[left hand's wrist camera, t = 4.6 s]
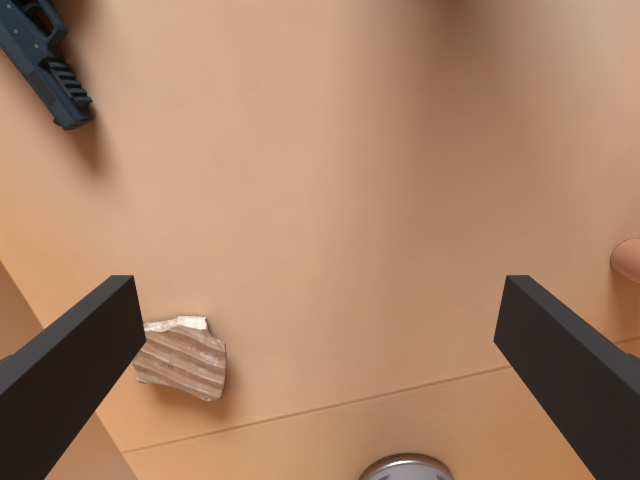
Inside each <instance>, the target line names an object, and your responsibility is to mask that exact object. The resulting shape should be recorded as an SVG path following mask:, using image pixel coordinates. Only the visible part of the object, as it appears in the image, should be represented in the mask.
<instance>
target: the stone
mask: <svg viewBox="0 0 640 480" xmlns="http://www.w3.org/2000/svg"><path fill="white" fill-rule="evenodd" d="M143 326H144V331H145V335H146V340H147V341H146V343H145V344H144V345H143V347H142V348H141V349H140V351H139V352H138V353H137V355H136V356H135V358H134V359H133V360H132V364H133V365H134V367H135V369H136V370H137V380H138V382H139V383H143V384H150V383H155V384H161V385H165V386H171V387H174V388H177V389H180V390H183V391H185V392H188V393H191V394H192V395H194V396H197V397H198V398H199V399H202V400H204V401H207V402H211V401H217V402H219V399H221V398H222V397H223V389H224V384H225V378H226V375H225V371H226V366H227V358H226V347H225V343H224V342H223V341H222V340H218V339H215V338H213V337H212V336H211V333H210V332H209V329H208V325H207V318H206V317H200V316H177V317H175V318H174V319H173V320H167V321H162V322H153V323H145V324H143Z"/></svg>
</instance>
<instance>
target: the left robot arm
mask: <svg viewBox="0 0 640 480" xmlns="http://www.w3.org/2000/svg"><path fill="white" fill-rule="evenodd" d="M146 341H147V340H146V335H145V331H144V326H143V321H142V316H141V311H140V306H139V301H138V296H137V291H136V286H135V281H134V276H133V275H112V276H110V277H109V278H108V279H107V280H105V281H104V282H103V283H102V284H100V285H99V286H98V287H97V288H95V289H94V290H93V291H92V292H90V293H89V294H88V295H87V296H85V297H84V298H83V299H82V300H80V301H79V302H78V303H77V304H75V305H74V306H73V307H72V308H71V309H69V310H68V311H67V312H66V313H64V314H63V315H62V316H61V317H59V318H58V319H57V320H56V321H54V322H53V323H52V324H51V325H49V326H48V327H47V328H46V329H44V330H43V331H42V332H41V333H40V334H38V335H37V336H36V337H35V338H33V339H32V340H31V341H30V342H28V343H27V344H26V345H25V346H23V347H22V348H21V349H20V350H18V351H17V352H16V353H15V354H13V355H9V356H7V357H5V358H4V359H2V360H0V480H44V479H45V477H46V476H47V475H48V473H49V472H50V471H51V469H52V468H53V467H54V465H55V464H56V463H57V461H58V460H59V459H60V457H61V456H62V454H63V453H64V452H65V450H66V449H67V448H68V446H69V445H70V444H71V442H72V441H73V440H74V438H75V437H76V436H77V434H78V433H79V432H80V430H81V429H82V428H83V426H84V425H85V424H86V422H87V421H88V419H89V418H90V417H91V415H92V414H93V413H94V411H95V410H96V409H97V407H98V406H99V405H100V403H101V402H102V401H103V399H104V398H105V397H106V395H107V394H108V393H109V391H110V390H111V389H112V387H113V386H114V384H115V383H116V382H117V380H118V379H119V378H120V376H121V375H122V374H123V372H124V371H125V370H126V368H127V367H128V366H129V364H130V363H131V362H132V360H133V359H134V358H135V356H136V355H137V353H138V352H139V351H140V349H141V348H142V347H143V345H144V344H145V343H146ZM493 341H494V343H495V344H496V345H497V347H498V348H499V349H500V351H501V352H502V353H503V355H504V356H505V358H506V359H507V360H508V362H509V363H510V364H511V366H512V367H513V368H514V370H515V371H516V372H517V374H518V375H519V376H520V378H521V379H522V380H523V382H524V383H525V384H526V386H527V387H528V389H529V390H530V391H531V393H532V394H533V395H534V397H535V398H536V399H537V401H538V402H539V403H540V405H541V406H542V407H543V409H544V410H545V411H546V413H547V414H548V415H549V417H550V418H551V420H552V421H553V422H554V424H555V425H556V426H557V428H558V429H559V430H560V432H561V433H562V434H563V436H564V437H565V438H566V440H567V441H568V442H569V444H570V445H571V446H572V448H573V449H574V450H575V452H576V453H577V455H578V456H579V457H580V459H581V460H582V461H583V463H584V464H585V465H586V467H587V468H588V469H589V471H590V472H591V473H592V475H593V476H594V477H595V479H596V480H640V359H639V358H637V357H636V356H634V355H632V354H625V353H624V352H623V351H622V350H620V349H619V348H618V347H617V346H615V345H614V344H613V343H612V342H610V341H609V340H608V339H607V338H605V337H604V336H603V335H602V334H601V333H599V332H598V331H597V330H596V329H594V328H593V327H592V326H591V325H589V324H588V323H587V322H586V321H584V320H583V319H582V318H581V317H579V316H578V315H577V314H576V313H574V312H573V311H572V310H571V309H569V308H568V307H567V306H566V305H565V304H563V303H562V302H561V301H560V300H558V299H557V298H556V297H555V296H553V295H552V294H551V293H550V292H548V291H547V290H546V289H545V288H543V287H542V286H541V285H540V284H538V283H537V282H536V281H535V280H533V279H532V278H531V277H530V276H528V275H507V276H506V281H505V286H504V291H503V296H502V301H501V306H500V311H499V316H498V321H497V326H496V331H495V335H494V340H493ZM359 480H454V478H453V476H452V474H451V472H450V470H449V469H448V468H447V467H446V466H445V465H444V464H443V463H441V462H440V461H438V460H436V459H434V458H432V457H429V456H426V455H421V454H411V453H408V454H398V455H393V456H389V457H386V458H383V459H381V460H379V461H377V462H375V463H374V464H372V465H371V466H370V467H368V468H367V469H366V470H365V471H364V472H363V474H362V475H361V477H360V478H359Z"/></svg>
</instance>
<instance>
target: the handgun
mask: <svg viewBox="0 0 640 480" xmlns="http://www.w3.org/2000/svg"><path fill="white" fill-rule="evenodd" d="M37 1H38V3H39V4H38V3H29V0H0V46H1V48H2V49H3V50H4V52H5V53H6V54H7V56H8V57H9V58H10V60H11V61H12V62H13V64H14V65H15V66H16V68H17V69H18V70H19V71H20V72H21V73H22V75H23V76H24V77H25V79H26V80H27V81H28V83H29V84H30V85H31V87H32V88H33V89H34V91H35V92H36V93H37V95H38V96H39V97H40V99H41V100H42V101H43V103H44V104H45V105H46V107H47V108H48V109H49V111H50V112H51V113H52V115H53V116H54V117H55V118H54V121H53V122H54V123H55V124H57V125H59V126H61V127H62V128H63V129H64V130H72V129H75V128H77V127H80V126H82V125H83V124H85V123H87V122H88V121H90V120H92V119H93V118H92V116H91V115H90V113H89V112H88V111H87V109H86V108H85V106H86V105H87V104H88V103H91V102H92V99H91V98H90V97H88V96H87V95H86V94H87V92H86V90H85V89H82V88H81V87H80V86H81V83H80V82H79V81H76V79H75V78H76V76H75V75H74V73H71V72H70V71H69V70H70V68H69V66H68V65H67V64H64V62H63V61H65V58H64V56H63V55H62V53H61V52H60V50H59V49H58V47H57V46H58V45H59V44H60V42H61V41H62V40H63V39H64V38H65V36H66V35H67V32H68V31H67V28H66V26H65V24H64V22H63V21H62V19H61V17H60V15H59V13H58V12H57V10H56V8H55V6H54V5H53V3H52V1H51V0H37ZM41 8H42V9H43V10H44V12H45V13H46V15H47V16H48V18H49V19H50V21H51V23H52V24H53V26H54V31H53V33H52V34H51V35H49V34H48V32H47V31H46V29H45V28H44V26H43V25H42V24H41V22H40V21H39V19H38V18H37V16H36V15H35V12H37V11H38V10H39V9H41Z"/></svg>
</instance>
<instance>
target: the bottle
mask: <svg viewBox="0 0 640 480" xmlns="http://www.w3.org/2000/svg"><path fill="white" fill-rule="evenodd" d="M610 263H611V266H612V268H613V269H614V270H615V271H616V272H618V273H620V274H622V275H623V276H625V277H627V278H629V279H631V280H632V281H634V282H636V283H638V284H640V239H638V238H634V239H629V240H626V241H624V242H622V243H621V244H620V245H618V246H617V247H616V248H615V250H614V251H613V253H612V255H611V259H610Z"/></svg>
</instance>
